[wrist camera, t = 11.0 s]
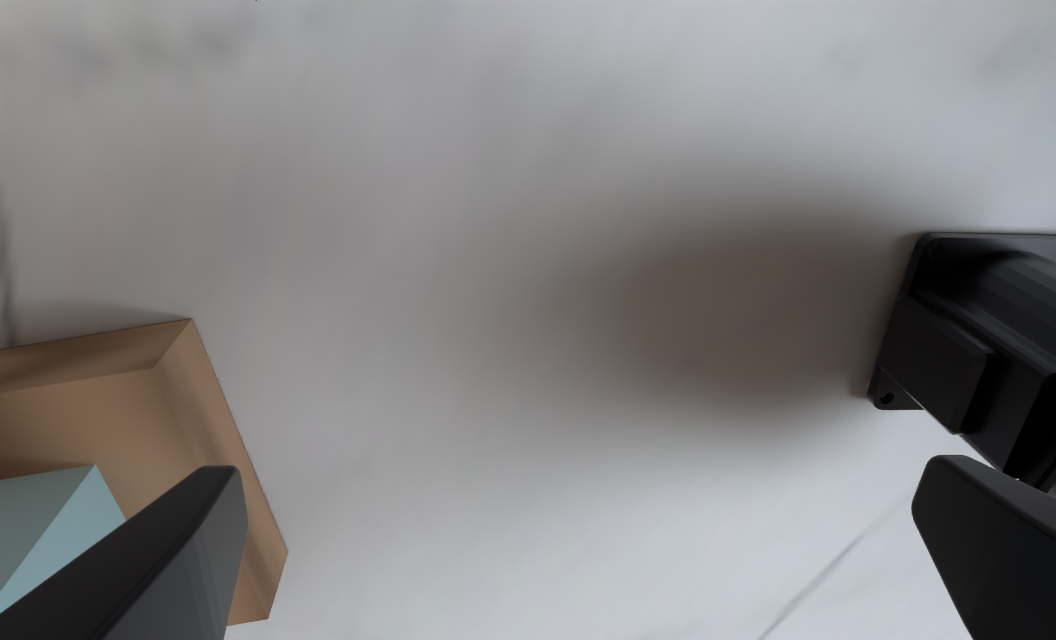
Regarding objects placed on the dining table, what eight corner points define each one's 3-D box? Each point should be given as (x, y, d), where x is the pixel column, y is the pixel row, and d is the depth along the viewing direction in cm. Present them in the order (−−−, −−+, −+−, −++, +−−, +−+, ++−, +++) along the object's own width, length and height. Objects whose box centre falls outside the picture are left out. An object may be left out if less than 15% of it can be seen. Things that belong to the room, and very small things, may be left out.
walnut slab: (192, 318, 21) (153, 367, 19) (288, 552, 26) (268, 619, 23) (-131, 371, 21) (-217, 428, 18) (23, 597, 26) (-28, 669, 23)
